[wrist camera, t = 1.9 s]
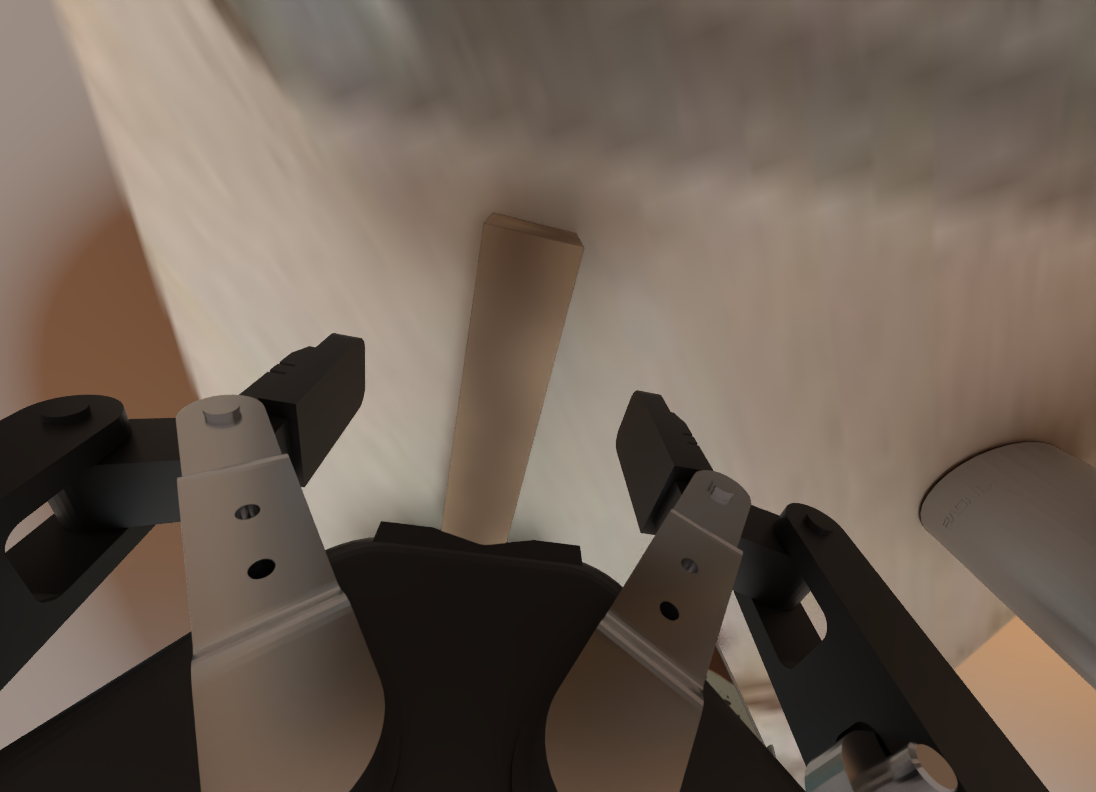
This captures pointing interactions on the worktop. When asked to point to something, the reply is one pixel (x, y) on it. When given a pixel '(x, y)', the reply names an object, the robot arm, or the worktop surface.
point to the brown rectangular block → (506, 370)
